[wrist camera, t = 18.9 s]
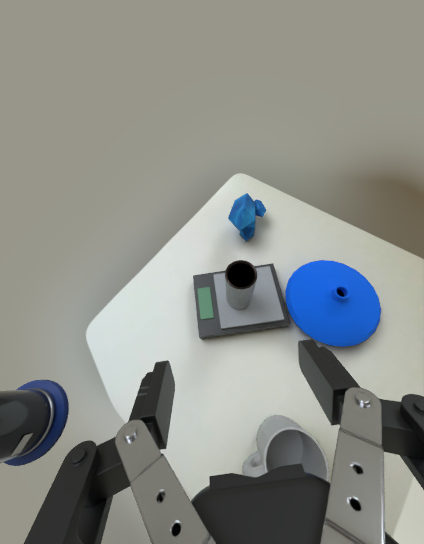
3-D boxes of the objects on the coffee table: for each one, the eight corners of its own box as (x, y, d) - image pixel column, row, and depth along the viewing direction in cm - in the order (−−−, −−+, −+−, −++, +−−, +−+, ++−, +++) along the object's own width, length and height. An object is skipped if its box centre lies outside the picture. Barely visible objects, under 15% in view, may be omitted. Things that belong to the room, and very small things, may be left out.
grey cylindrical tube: (256, 298, 40) (264, 274, 30) (238, 314, 38) (241, 296, 29) (239, 281, 41) (241, 254, 32) (221, 297, 40) (218, 273, 31)
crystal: (269, 184, 46) (267, 220, 39) (263, 217, 53) (260, 254, 46) (234, 182, 47) (226, 217, 40) (233, 215, 54) (225, 250, 47)
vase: (277, 336, 39) (285, 329, 33) (286, 260, 46) (295, 242, 39) (372, 359, 37) (402, 355, 30) (369, 275, 43) (393, 257, 36)
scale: (201, 339, 40) (198, 336, 37) (194, 280, 46) (192, 273, 43) (287, 326, 40) (291, 323, 37) (271, 268, 45) (273, 261, 42)
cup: (315, 460, 32) (343, 490, 24) (252, 491, 31) (259, 533, 23) (289, 406, 35) (306, 416, 27) (231, 433, 34) (231, 451, 26)
